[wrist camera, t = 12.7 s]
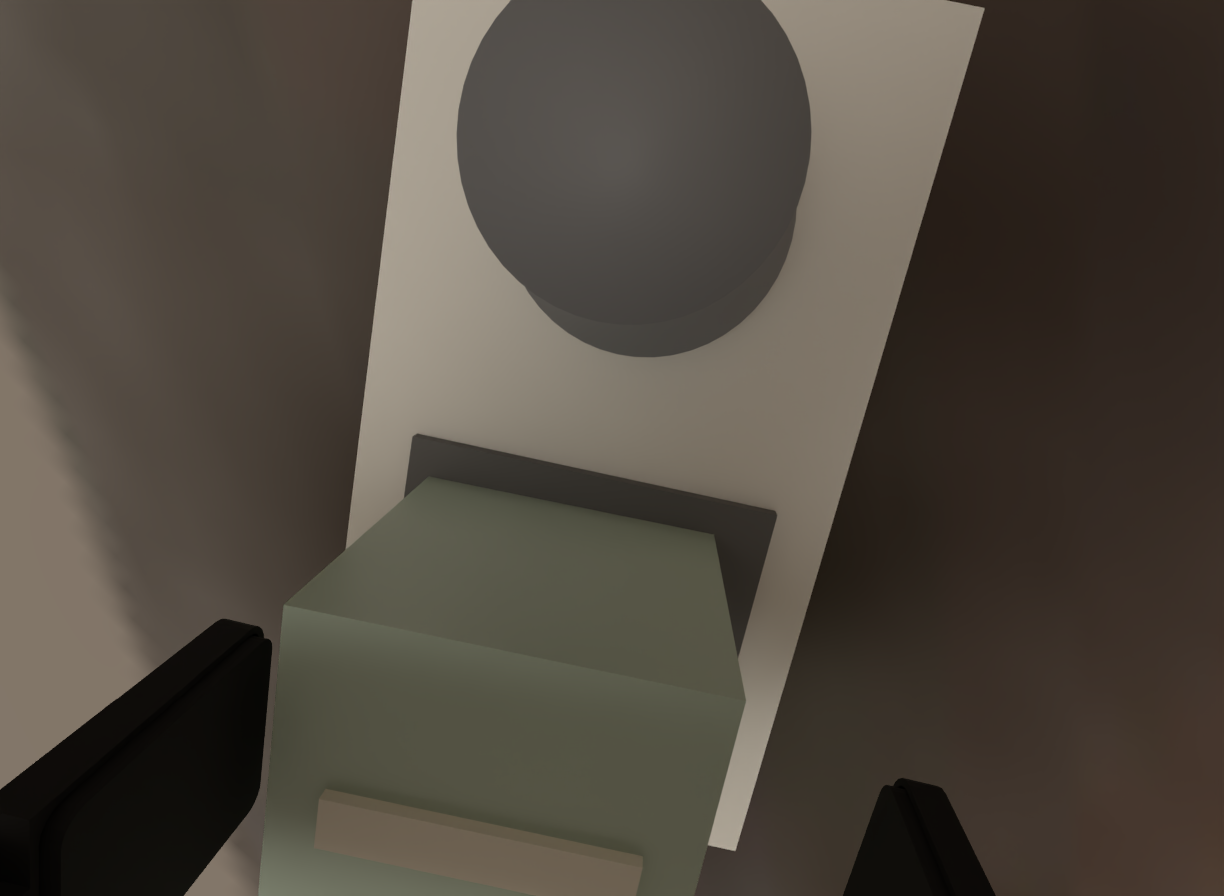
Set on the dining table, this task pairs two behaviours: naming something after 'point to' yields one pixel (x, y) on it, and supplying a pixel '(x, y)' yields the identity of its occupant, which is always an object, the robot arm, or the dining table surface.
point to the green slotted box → (502, 706)
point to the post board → (690, 399)
